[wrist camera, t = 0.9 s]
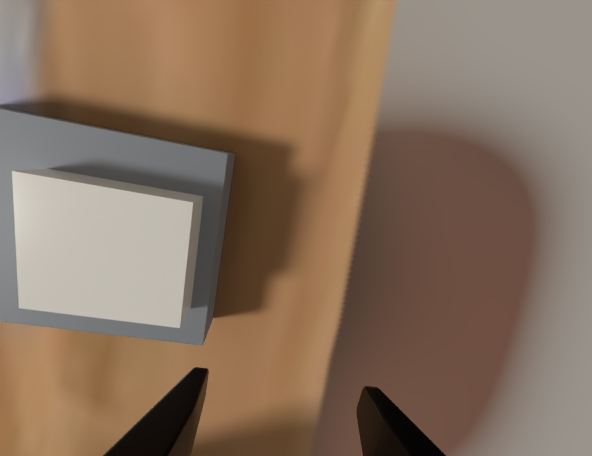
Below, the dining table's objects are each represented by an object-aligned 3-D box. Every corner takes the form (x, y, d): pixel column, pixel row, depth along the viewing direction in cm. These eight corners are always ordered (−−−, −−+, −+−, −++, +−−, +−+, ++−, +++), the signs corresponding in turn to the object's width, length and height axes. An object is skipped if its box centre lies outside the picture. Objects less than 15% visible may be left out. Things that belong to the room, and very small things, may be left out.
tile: (190, 308, 17) (179, 328, 15) (49, 289, 16) (18, 308, 14) (203, 196, 16) (193, 202, 14) (46, 168, 15) (11, 170, 13)
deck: (212, 318, 21) (202, 345, 18) (4, 291, 19) (-44, 316, 16) (235, 153, 18) (227, 153, 15) (-8, 105, 16) (-68, 95, 14)
